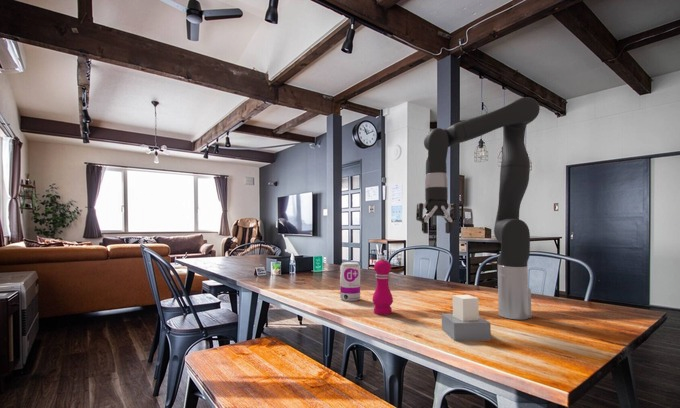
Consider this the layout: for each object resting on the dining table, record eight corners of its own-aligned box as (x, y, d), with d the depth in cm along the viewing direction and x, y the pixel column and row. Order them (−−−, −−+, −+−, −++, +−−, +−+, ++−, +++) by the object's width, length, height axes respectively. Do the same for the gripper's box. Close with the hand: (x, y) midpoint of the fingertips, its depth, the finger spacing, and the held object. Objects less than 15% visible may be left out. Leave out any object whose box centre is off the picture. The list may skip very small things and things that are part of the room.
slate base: (474, 330, 103) (474, 313, 104) (490, 341, 93) (490, 322, 94) (441, 330, 103) (441, 313, 103) (454, 342, 93) (454, 323, 93)
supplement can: (360, 301, 139) (360, 264, 140) (340, 301, 139) (340, 264, 140) (359, 297, 147) (359, 261, 148) (340, 297, 147) (340, 261, 148)
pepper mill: (392, 315, 118) (392, 256, 119) (371, 314, 119) (371, 256, 121) (393, 310, 125) (393, 254, 126) (373, 309, 126) (373, 254, 128)
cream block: (467, 315, 101) (467, 294, 102) (478, 319, 97) (478, 298, 97) (452, 316, 100) (452, 295, 100) (463, 320, 95) (462, 298, 96)
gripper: (449, 188, 126) (449, 233, 125) (412, 187, 123) (413, 233, 122) (460, 186, 118) (461, 233, 118) (422, 185, 115) (422, 233, 114)
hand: (436, 233), depth 120 cm, fingers open, 8 cm apart
